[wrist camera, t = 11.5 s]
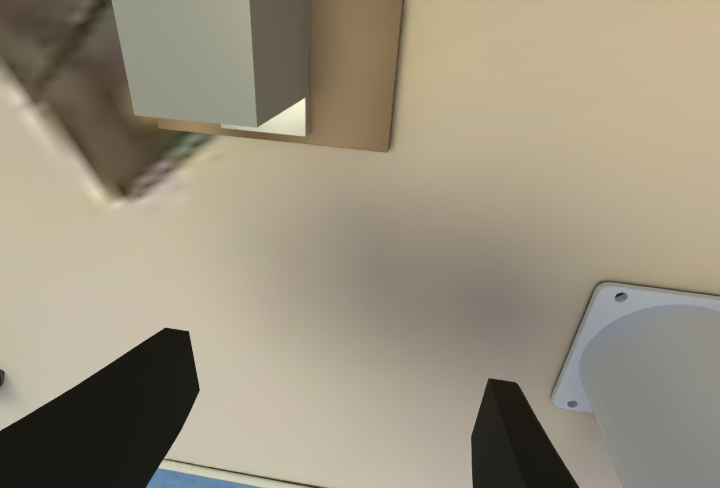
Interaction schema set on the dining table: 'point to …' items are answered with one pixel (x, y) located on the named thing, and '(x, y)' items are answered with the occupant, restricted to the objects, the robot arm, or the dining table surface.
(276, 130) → the rail
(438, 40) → the dining table surface
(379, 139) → the board
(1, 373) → the mini dv tape
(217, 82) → the block
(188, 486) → the tablet computer
